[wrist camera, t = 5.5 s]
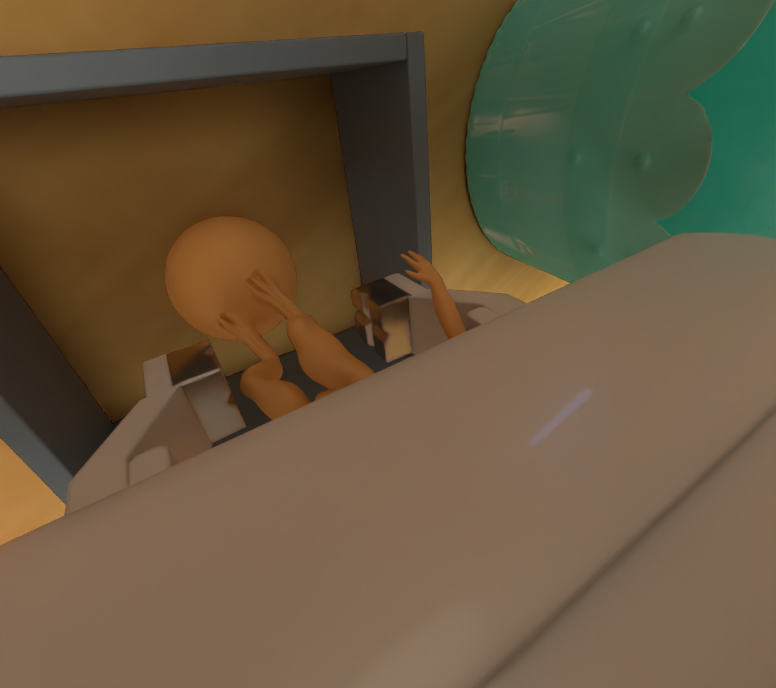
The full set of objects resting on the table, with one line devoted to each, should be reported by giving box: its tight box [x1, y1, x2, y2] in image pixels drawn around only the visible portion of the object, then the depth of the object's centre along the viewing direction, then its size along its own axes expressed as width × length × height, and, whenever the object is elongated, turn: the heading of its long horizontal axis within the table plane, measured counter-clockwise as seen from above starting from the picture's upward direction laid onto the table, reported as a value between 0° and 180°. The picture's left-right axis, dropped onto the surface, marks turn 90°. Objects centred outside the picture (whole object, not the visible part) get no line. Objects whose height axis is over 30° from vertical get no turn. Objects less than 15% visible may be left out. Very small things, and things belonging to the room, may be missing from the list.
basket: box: [465, 0, 776, 283], centre depth 21 cm, size 19×18×13 cm
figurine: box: [165, 216, 466, 420], centre depth 10 cm, size 8×6×12 cm
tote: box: [0, 32, 432, 504], centre depth 15 cm, size 15×14×6 cm
